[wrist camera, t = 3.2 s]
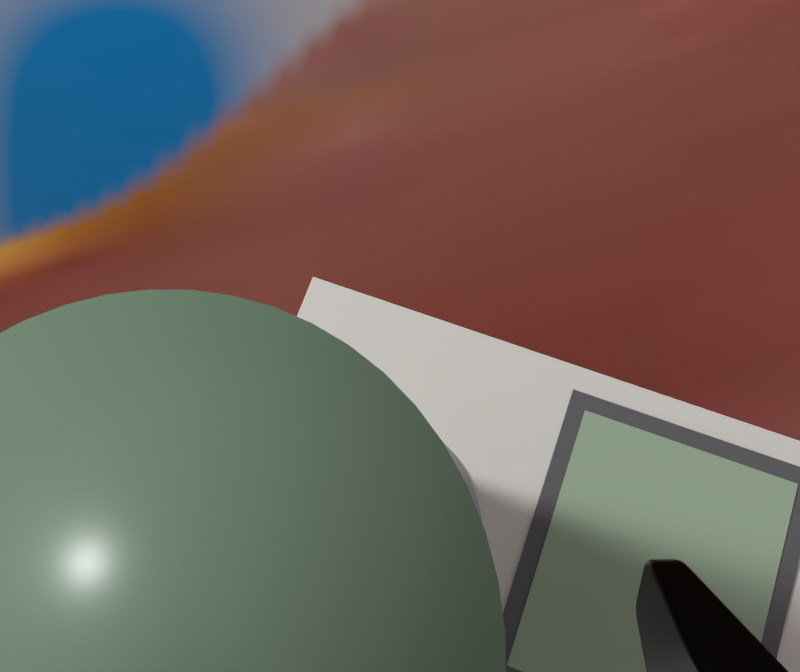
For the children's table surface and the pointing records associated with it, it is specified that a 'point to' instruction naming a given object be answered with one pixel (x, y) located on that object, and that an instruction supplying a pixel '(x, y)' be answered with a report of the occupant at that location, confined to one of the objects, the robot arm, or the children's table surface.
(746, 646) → the robot arm
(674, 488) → the white flat rectangular board
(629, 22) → the children's table surface
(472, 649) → the green joystick knob
